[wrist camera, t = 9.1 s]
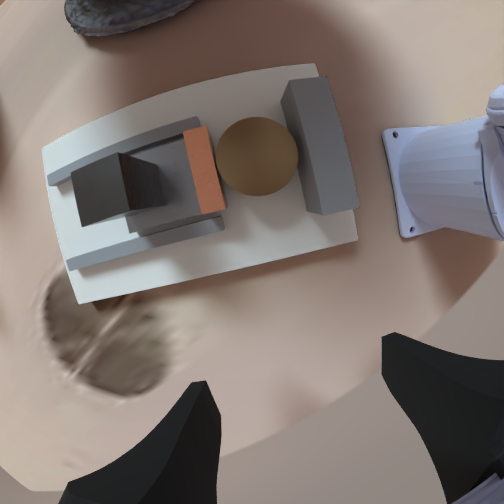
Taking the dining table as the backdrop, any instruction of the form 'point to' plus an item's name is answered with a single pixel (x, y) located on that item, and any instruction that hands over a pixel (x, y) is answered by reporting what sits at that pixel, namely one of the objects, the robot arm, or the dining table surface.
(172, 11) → the decorative urn
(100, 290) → the board
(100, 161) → the carriage
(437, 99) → the dining table surface
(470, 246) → the dining table surface
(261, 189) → the nut
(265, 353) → the dining table surface
